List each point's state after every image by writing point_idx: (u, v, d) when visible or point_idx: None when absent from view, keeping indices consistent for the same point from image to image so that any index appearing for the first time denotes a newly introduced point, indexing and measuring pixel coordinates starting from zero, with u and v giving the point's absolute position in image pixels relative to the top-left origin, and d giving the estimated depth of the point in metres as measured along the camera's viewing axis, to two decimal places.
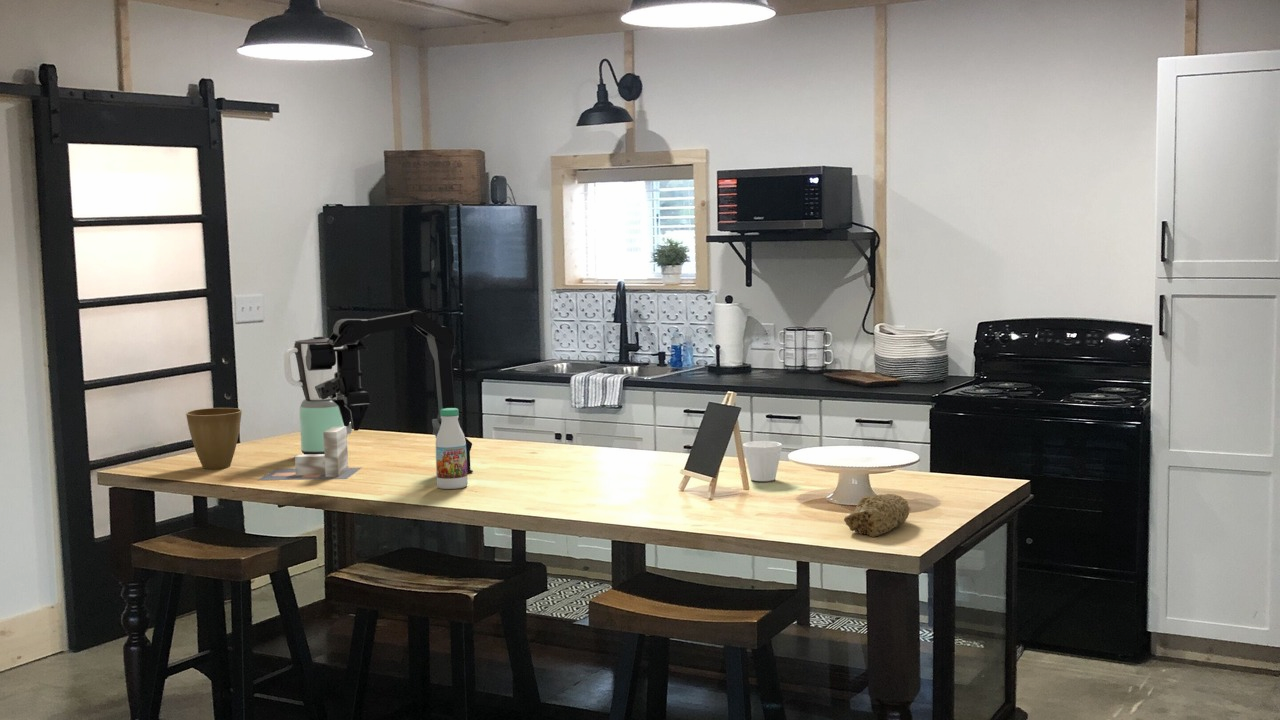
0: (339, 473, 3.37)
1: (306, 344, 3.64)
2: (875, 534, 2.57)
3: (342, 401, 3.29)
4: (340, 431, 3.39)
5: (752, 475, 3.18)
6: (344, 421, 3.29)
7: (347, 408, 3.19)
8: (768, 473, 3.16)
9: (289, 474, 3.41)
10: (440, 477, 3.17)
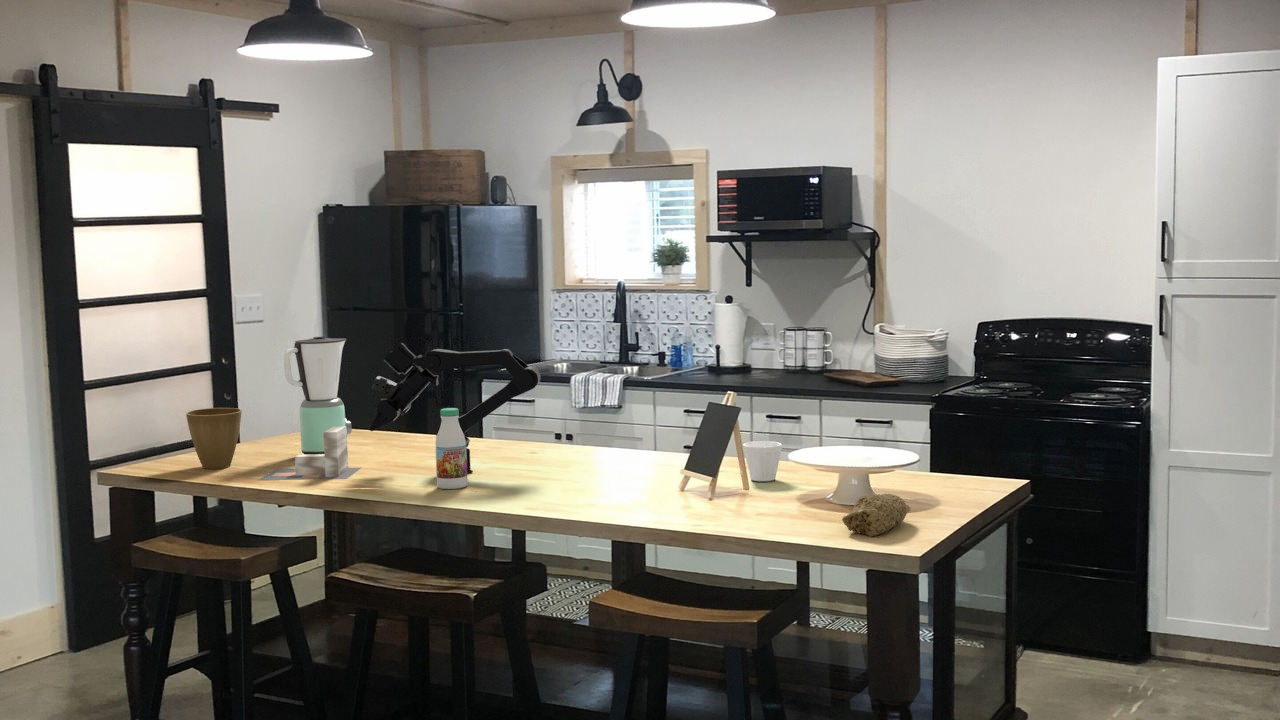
0: (339, 473, 3.37)
1: (306, 344, 3.64)
2: (873, 534, 2.57)
3: None
4: (340, 431, 3.39)
5: (752, 475, 3.18)
6: None
7: None
8: (768, 473, 3.16)
9: (289, 474, 3.41)
10: (440, 477, 3.17)
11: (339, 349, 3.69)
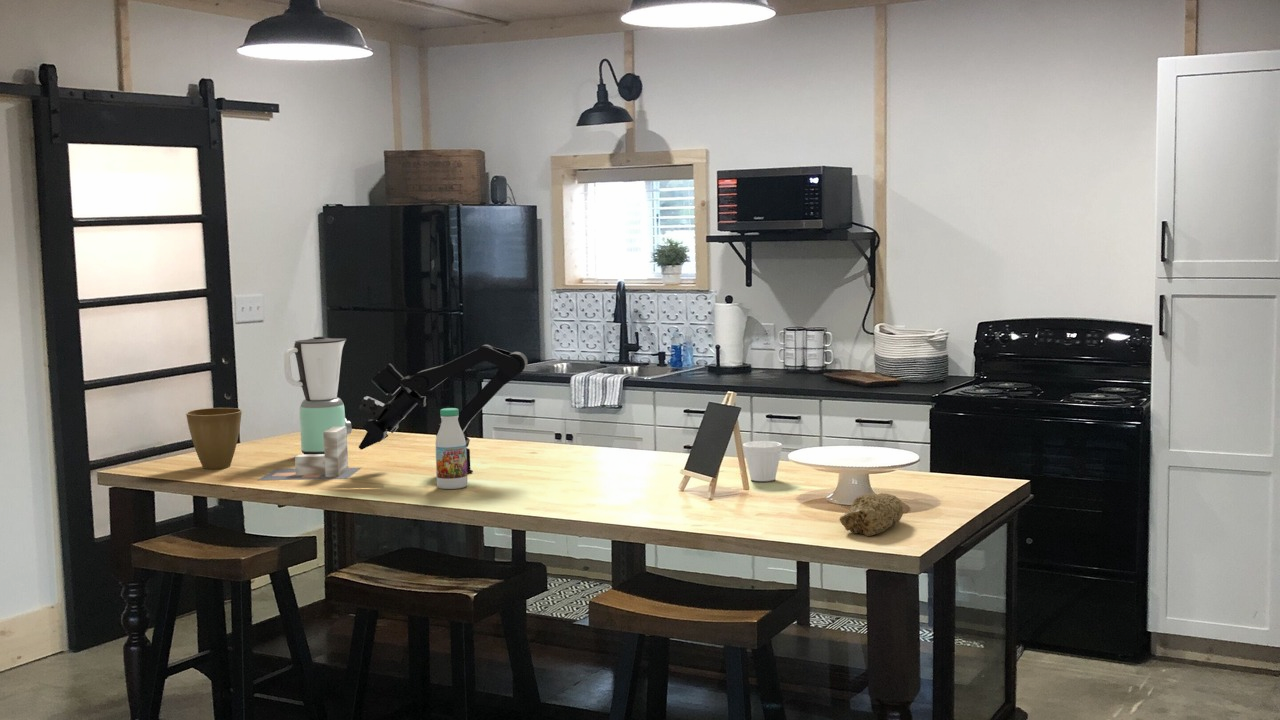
0: (339, 473, 3.37)
1: (306, 344, 3.64)
2: (871, 533, 2.57)
3: None
4: (340, 431, 3.39)
5: (752, 475, 3.18)
6: None
7: None
8: (768, 473, 3.16)
9: (289, 474, 3.41)
10: (440, 477, 3.17)
11: (339, 349, 3.69)
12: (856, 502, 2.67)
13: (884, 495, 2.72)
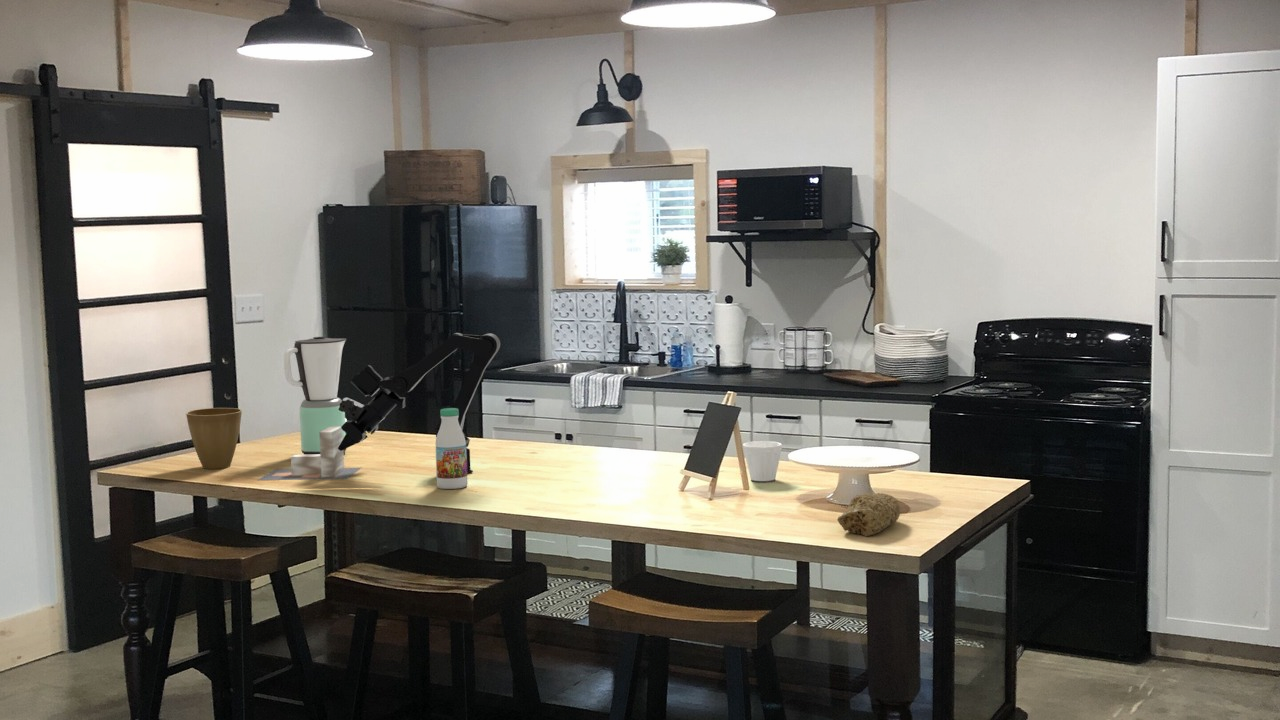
0: (335, 473, 3.37)
1: (306, 344, 3.64)
2: (869, 534, 2.57)
3: None
4: (336, 431, 3.39)
5: (752, 475, 3.18)
6: None
7: None
8: (768, 473, 3.16)
9: (289, 474, 3.41)
10: (440, 477, 3.17)
11: (339, 349, 3.69)
12: (853, 502, 2.67)
13: (881, 495, 2.72)
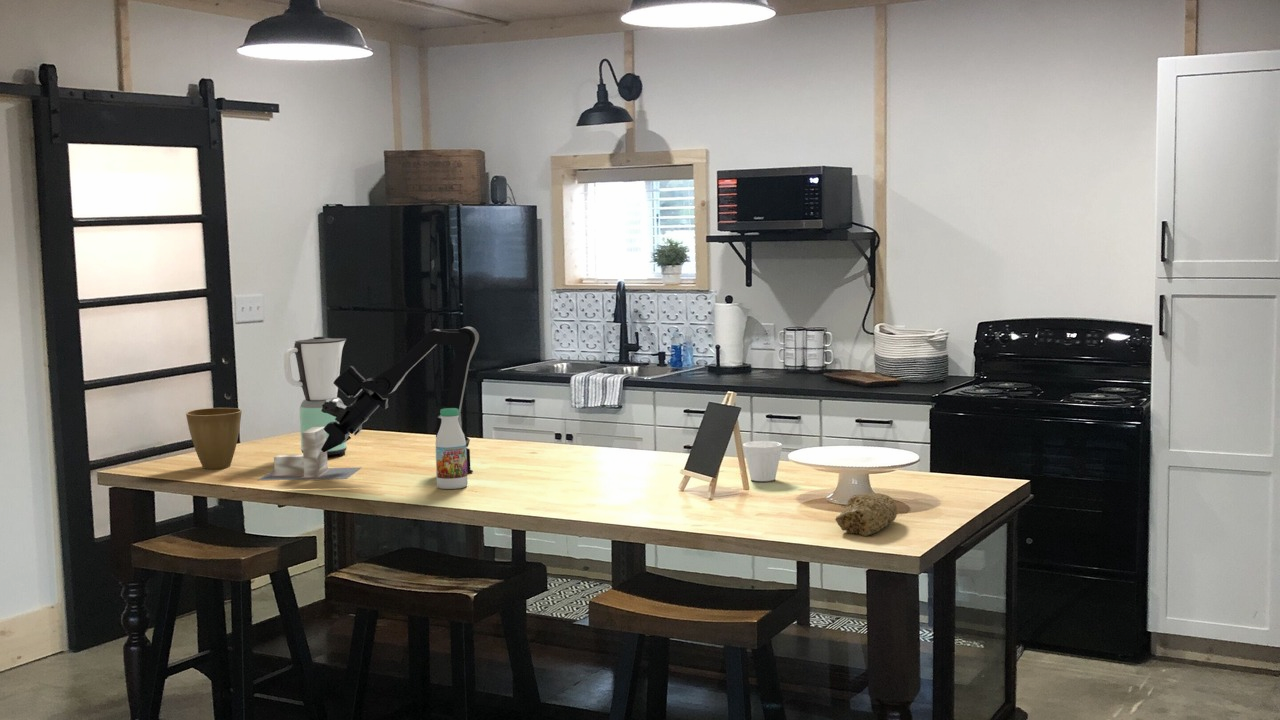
0: (318, 474, 3.37)
1: (306, 344, 3.64)
2: (867, 533, 2.58)
3: None
4: (319, 431, 3.39)
5: (752, 475, 3.18)
6: None
7: None
8: (768, 473, 3.16)
9: None
10: (440, 477, 3.17)
11: (339, 349, 3.69)
12: (851, 502, 2.67)
13: (877, 495, 2.73)
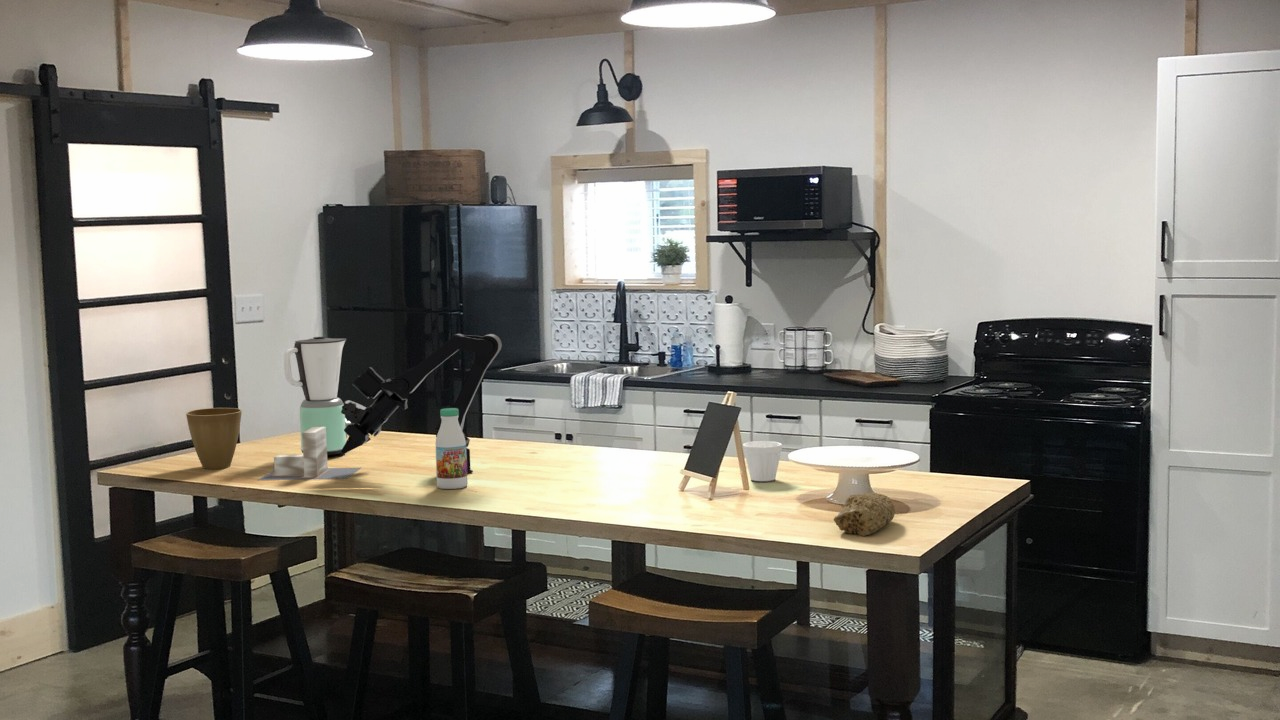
0: (318, 474, 3.37)
1: (306, 344, 3.64)
2: (866, 533, 2.58)
3: None
4: (319, 431, 3.39)
5: (752, 475, 3.18)
6: None
7: None
8: (768, 473, 3.16)
9: None
10: (440, 477, 3.17)
11: (339, 349, 3.69)
12: (848, 502, 2.67)
13: (875, 495, 2.73)
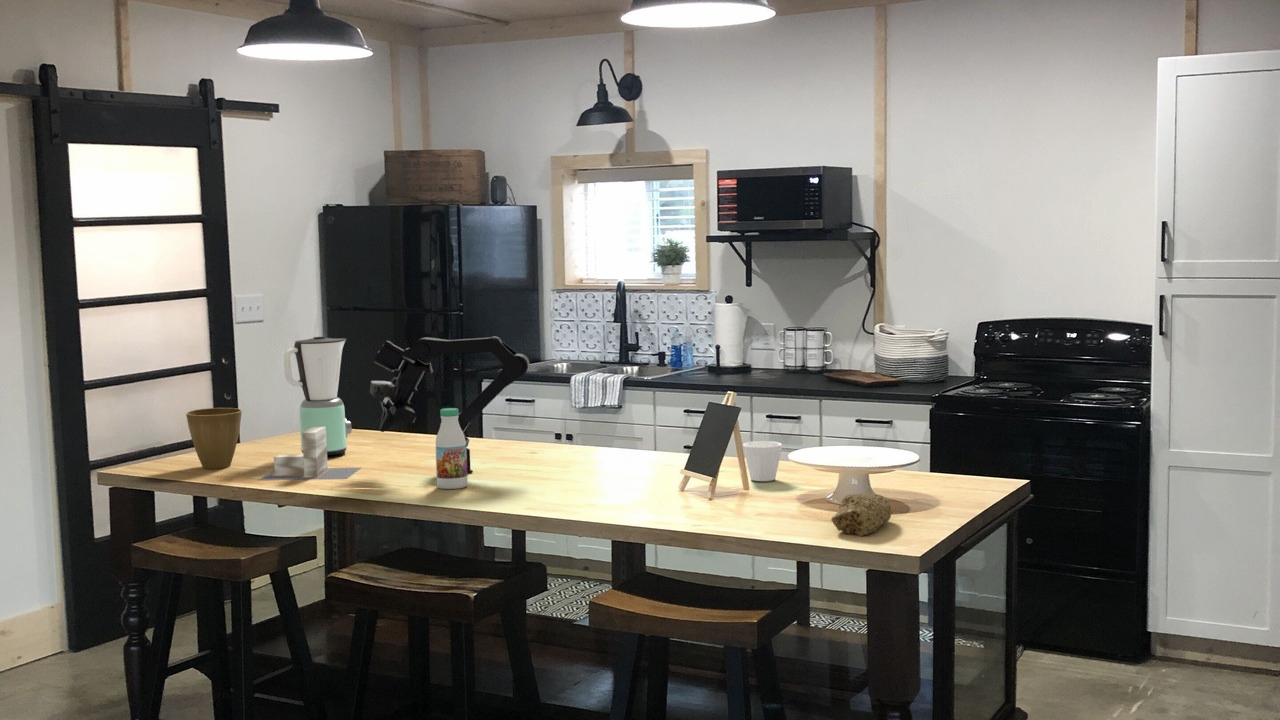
0: (318, 474, 3.37)
1: (306, 344, 3.64)
2: (864, 533, 2.58)
3: (389, 408, 3.39)
4: (319, 431, 3.39)
5: (752, 475, 3.18)
6: None
7: (385, 410, 3.37)
8: (768, 473, 3.16)
9: None
10: (440, 477, 3.17)
11: (339, 349, 3.69)
12: (845, 502, 2.67)
13: (871, 495, 2.73)
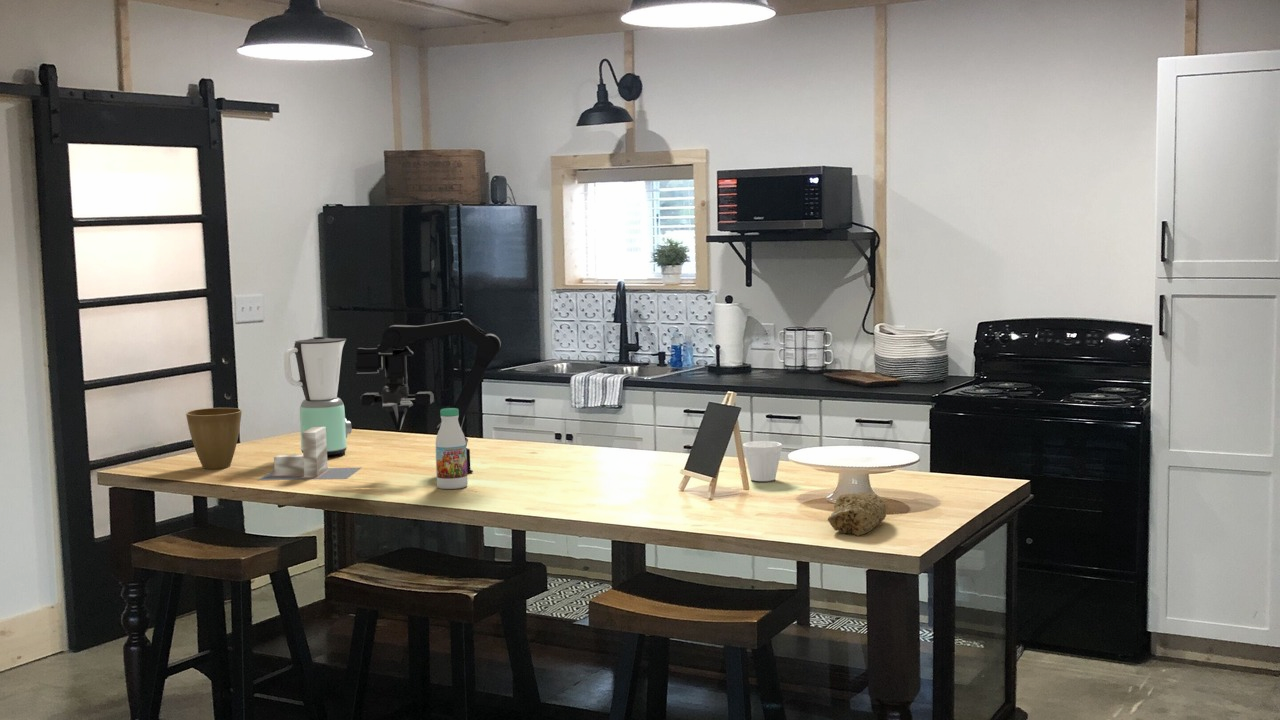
0: (318, 474, 3.37)
1: (306, 344, 3.64)
2: (861, 533, 2.58)
3: (394, 406, 3.37)
4: (319, 431, 3.39)
5: (752, 475, 3.18)
6: (397, 426, 3.37)
7: (398, 409, 3.35)
8: (768, 473, 3.16)
9: None
10: (440, 477, 3.17)
11: (339, 349, 3.69)
12: (840, 502, 2.67)
13: (865, 494, 2.73)
